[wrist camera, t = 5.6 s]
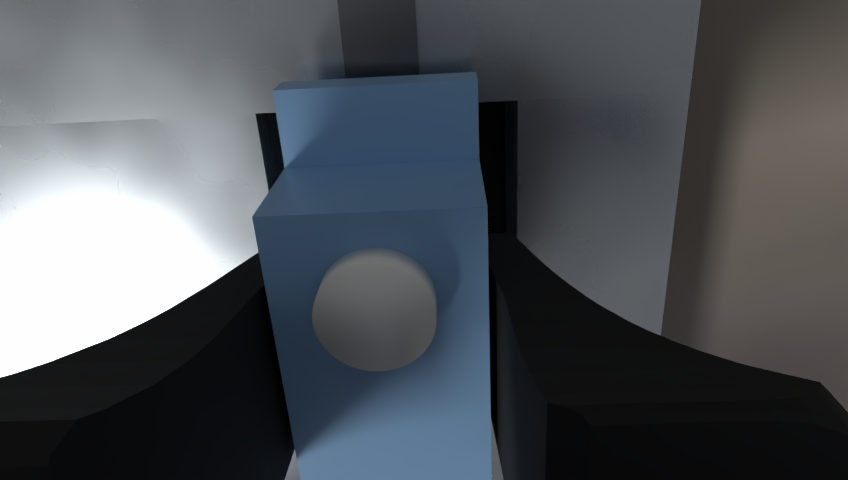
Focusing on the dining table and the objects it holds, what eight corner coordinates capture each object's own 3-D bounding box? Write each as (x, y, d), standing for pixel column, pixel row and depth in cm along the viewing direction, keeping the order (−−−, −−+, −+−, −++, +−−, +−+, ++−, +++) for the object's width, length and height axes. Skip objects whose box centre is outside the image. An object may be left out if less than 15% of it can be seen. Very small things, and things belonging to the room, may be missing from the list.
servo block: (477, 368, 15) (494, 577, 10) (351, 372, 15) (308, 581, 10) (469, 45, 12) (489, 124, 7) (311, 54, 12) (221, 136, 7)
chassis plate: (607, 511, 18) (631, 595, 16) (114, 522, 19) (70, 603, 16) (668, -161, 11) (725, -185, 9) (-115, -108, 12) (-247, -118, 9)
